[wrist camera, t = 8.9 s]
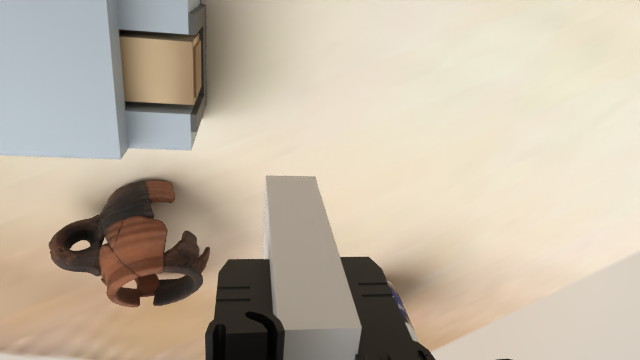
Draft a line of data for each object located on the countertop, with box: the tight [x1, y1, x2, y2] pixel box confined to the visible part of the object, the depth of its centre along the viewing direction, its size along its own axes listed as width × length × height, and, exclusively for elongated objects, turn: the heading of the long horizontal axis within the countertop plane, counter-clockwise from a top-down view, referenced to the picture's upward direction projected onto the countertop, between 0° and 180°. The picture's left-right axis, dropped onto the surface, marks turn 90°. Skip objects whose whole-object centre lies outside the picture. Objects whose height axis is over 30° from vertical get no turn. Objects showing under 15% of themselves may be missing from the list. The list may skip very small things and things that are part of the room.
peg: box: [119, 29, 201, 105], centre depth 30 cm, size 12×4×4 cm, turn 84°
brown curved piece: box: [49, 180, 210, 307], centre depth 39 cm, size 12×10×8 cm
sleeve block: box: [0, 0, 206, 159], centre depth 30 cm, size 12×10×9 cm
